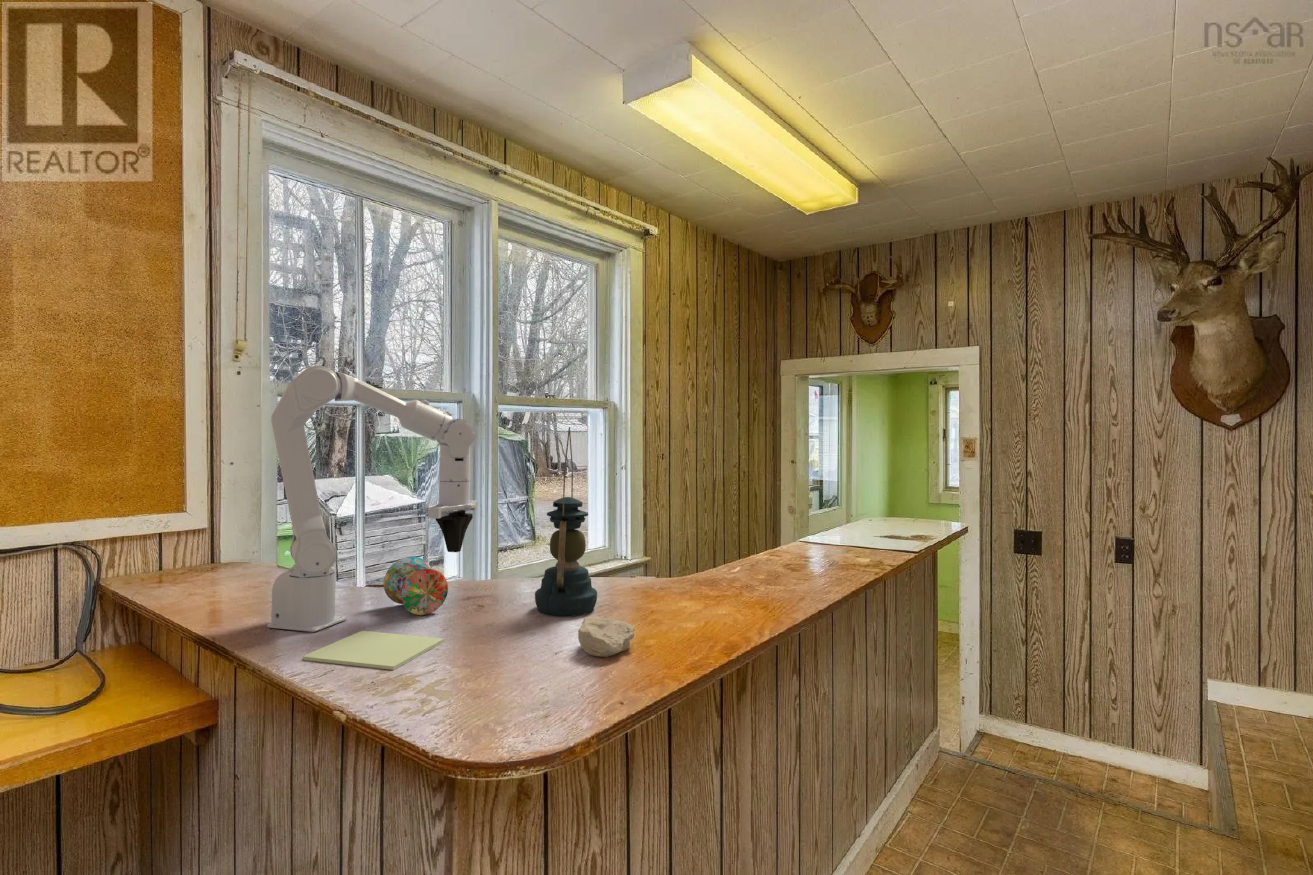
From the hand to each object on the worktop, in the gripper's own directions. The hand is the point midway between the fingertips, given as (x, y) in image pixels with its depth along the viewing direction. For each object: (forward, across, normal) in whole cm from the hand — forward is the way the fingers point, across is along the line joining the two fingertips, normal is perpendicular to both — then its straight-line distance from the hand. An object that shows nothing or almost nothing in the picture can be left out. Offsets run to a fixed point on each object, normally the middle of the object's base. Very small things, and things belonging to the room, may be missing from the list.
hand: (454, 551), depth 124 cm
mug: (+7, -7, 0) cm, 10 cm away
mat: (+10, -26, -2) cm, 28 cm away
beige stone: (+11, -16, -35) cm, 40 cm away
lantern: (+11, +4, -21) cm, 24 cm away
